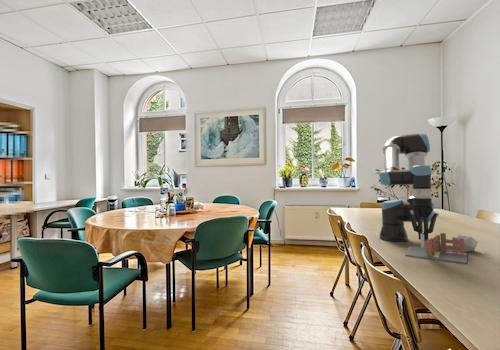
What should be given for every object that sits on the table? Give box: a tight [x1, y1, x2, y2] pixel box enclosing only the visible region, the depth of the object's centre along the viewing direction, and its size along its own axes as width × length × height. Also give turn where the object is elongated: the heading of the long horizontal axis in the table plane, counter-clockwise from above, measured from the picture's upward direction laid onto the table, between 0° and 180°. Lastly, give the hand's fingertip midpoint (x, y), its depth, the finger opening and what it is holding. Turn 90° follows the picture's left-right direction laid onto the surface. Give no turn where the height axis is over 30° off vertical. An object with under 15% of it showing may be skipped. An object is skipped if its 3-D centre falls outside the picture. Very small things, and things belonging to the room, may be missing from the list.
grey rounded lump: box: [456, 234, 479, 253], centre depth 135 cm, size 8×9×10 cm
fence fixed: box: [439, 232, 465, 254], centre depth 130 cm, size 9×2×9 cm, turn 51°
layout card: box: [404, 245, 468, 265], centre depth 131 cm, size 20×23×1 cm
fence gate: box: [426, 234, 441, 255], centre depth 130 cm, size 13×2×7 cm, turn 127°
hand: (423, 247), depth 130 cm, fingers closed
